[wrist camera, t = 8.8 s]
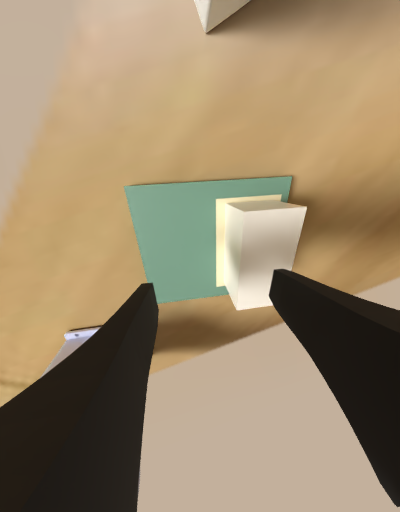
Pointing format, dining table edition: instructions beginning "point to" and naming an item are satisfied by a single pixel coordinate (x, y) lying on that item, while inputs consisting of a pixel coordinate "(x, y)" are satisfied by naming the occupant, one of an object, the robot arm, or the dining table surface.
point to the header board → (191, 231)
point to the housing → (258, 247)
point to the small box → (216, 11)
